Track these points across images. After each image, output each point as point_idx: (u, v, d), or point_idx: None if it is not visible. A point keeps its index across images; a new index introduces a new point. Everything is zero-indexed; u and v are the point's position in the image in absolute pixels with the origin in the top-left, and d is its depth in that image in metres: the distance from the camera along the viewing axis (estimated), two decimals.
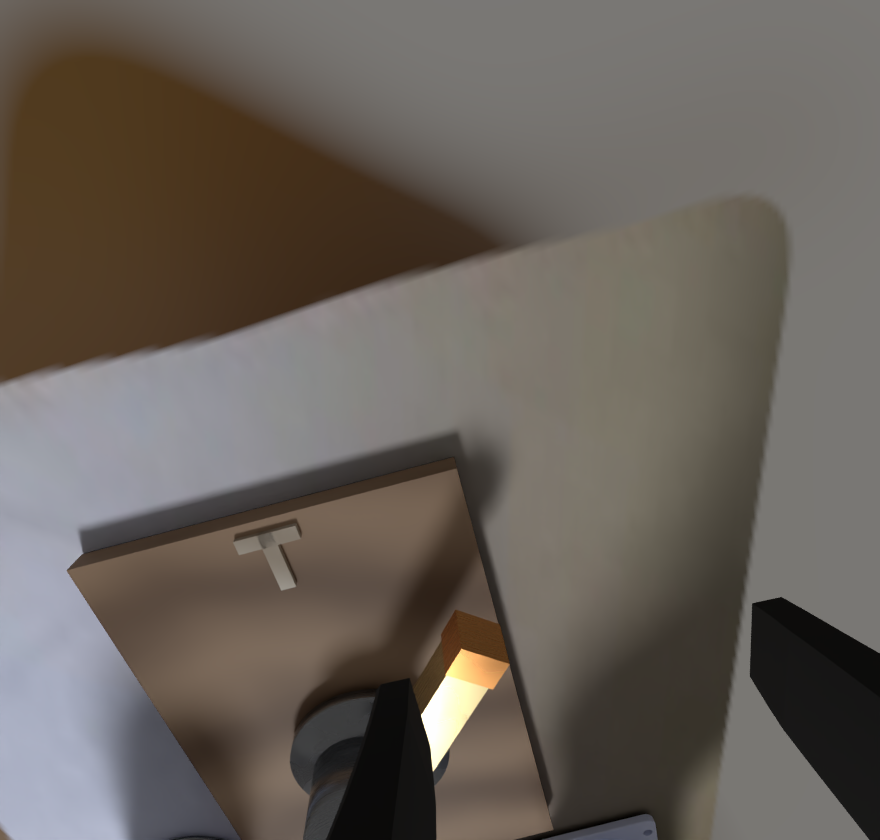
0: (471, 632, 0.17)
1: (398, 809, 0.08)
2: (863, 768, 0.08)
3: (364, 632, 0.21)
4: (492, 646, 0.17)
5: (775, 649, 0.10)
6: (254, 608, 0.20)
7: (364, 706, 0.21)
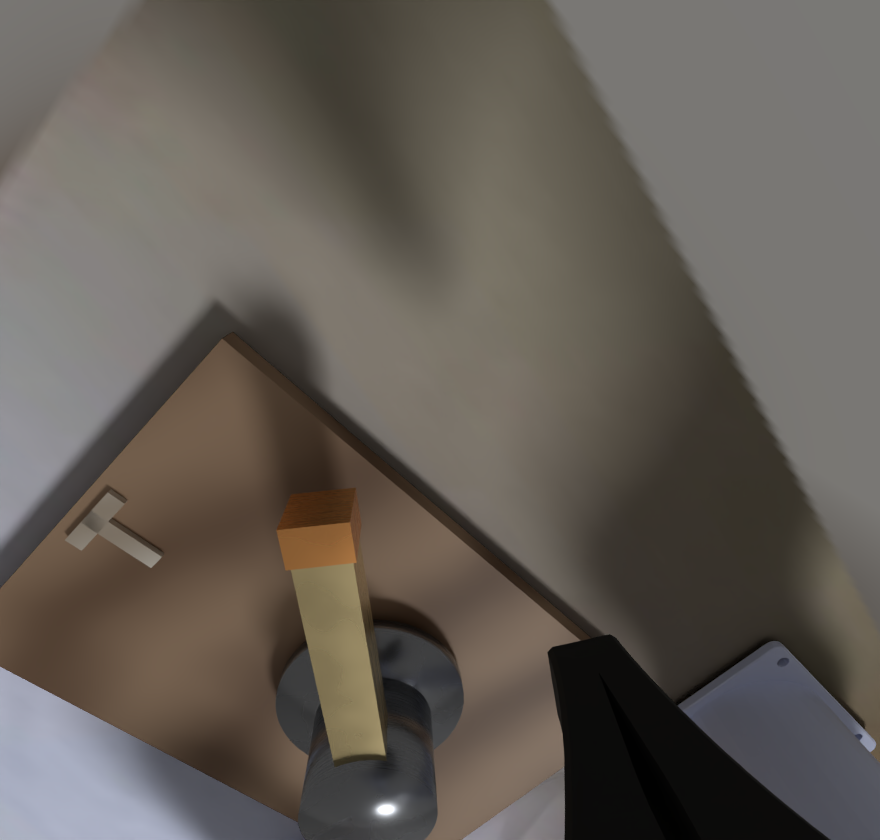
0: (303, 509, 0.13)
1: None
2: None
3: (272, 573, 0.18)
4: (330, 512, 0.13)
5: None
6: (145, 599, 0.18)
7: None
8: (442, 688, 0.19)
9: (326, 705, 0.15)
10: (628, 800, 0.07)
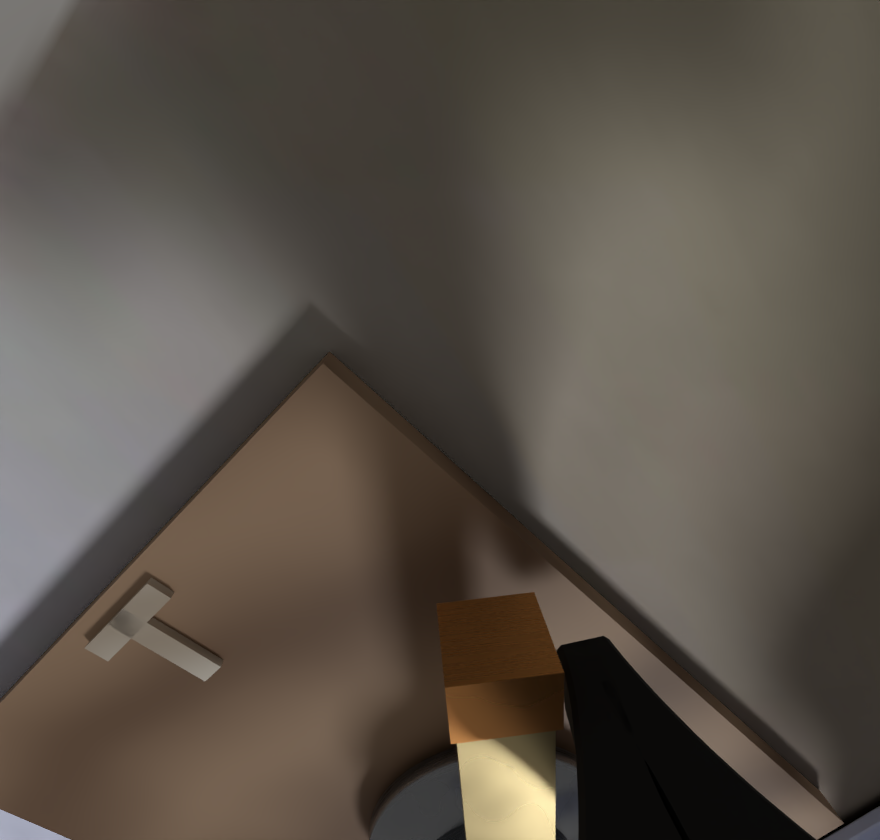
0: (470, 637, 0.08)
1: None
2: None
3: (371, 682, 0.13)
4: (519, 648, 0.08)
5: None
6: (194, 718, 0.13)
7: (432, 787, 0.13)
8: None
9: None
10: (642, 797, 0.07)
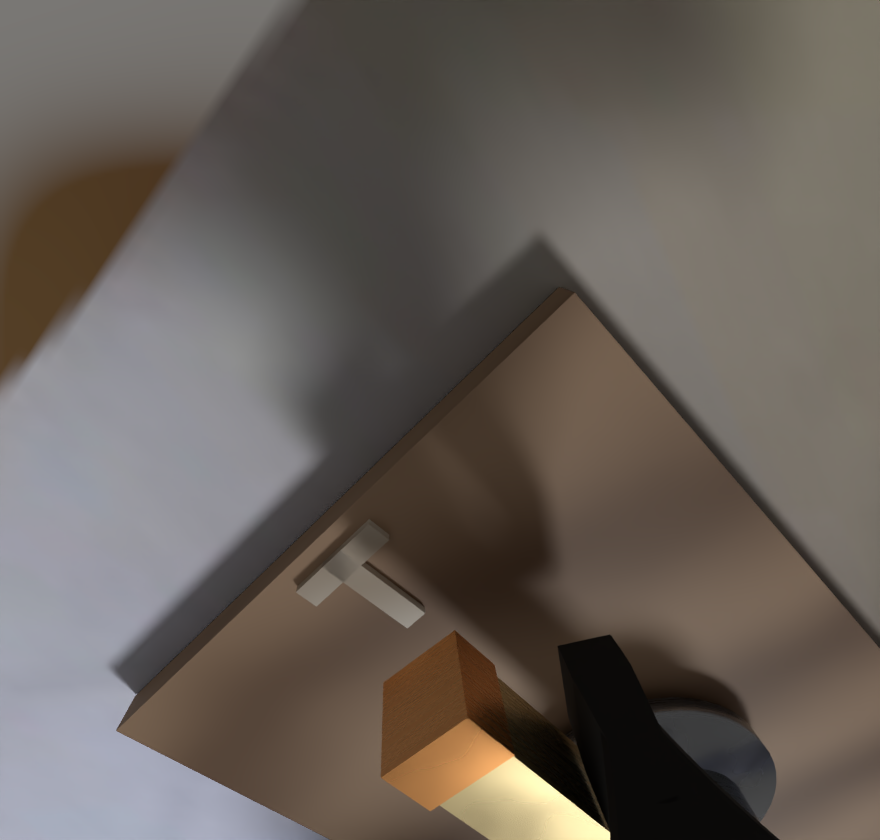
0: (403, 710, 0.09)
1: None
2: None
3: (564, 632, 0.13)
4: (437, 704, 0.08)
5: (571, 693, 0.10)
6: (385, 669, 0.13)
7: None
8: (730, 751, 0.13)
9: None
10: (671, 790, 0.07)
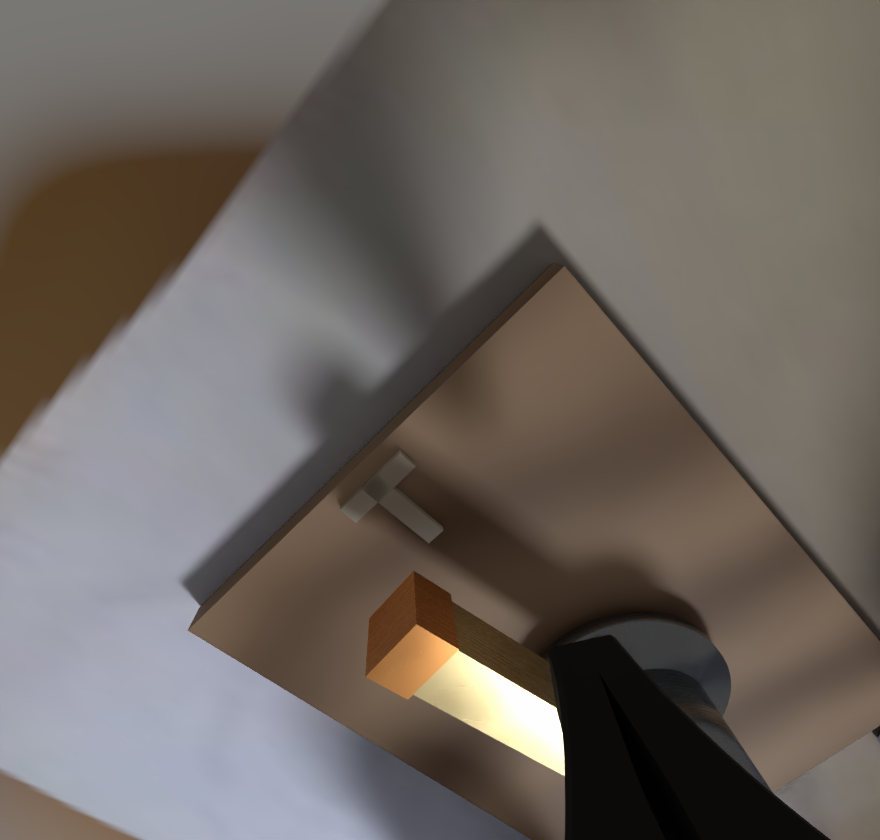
0: (380, 631, 0.12)
1: None
2: None
3: (556, 550, 0.15)
4: (400, 621, 0.11)
5: None
6: None
7: None
8: (681, 651, 0.16)
9: (562, 769, 0.13)
10: (629, 800, 0.07)
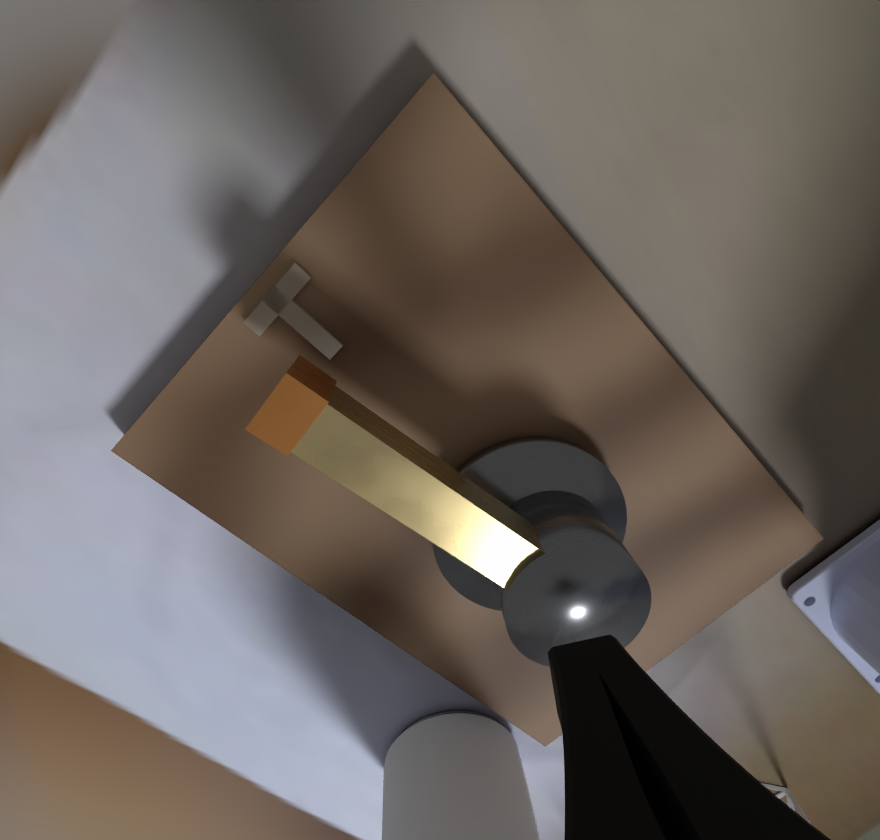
0: None
1: None
2: None
3: (453, 372, 0.16)
4: None
5: None
6: None
7: None
8: (575, 471, 0.17)
9: (443, 543, 0.14)
10: (628, 800, 0.07)
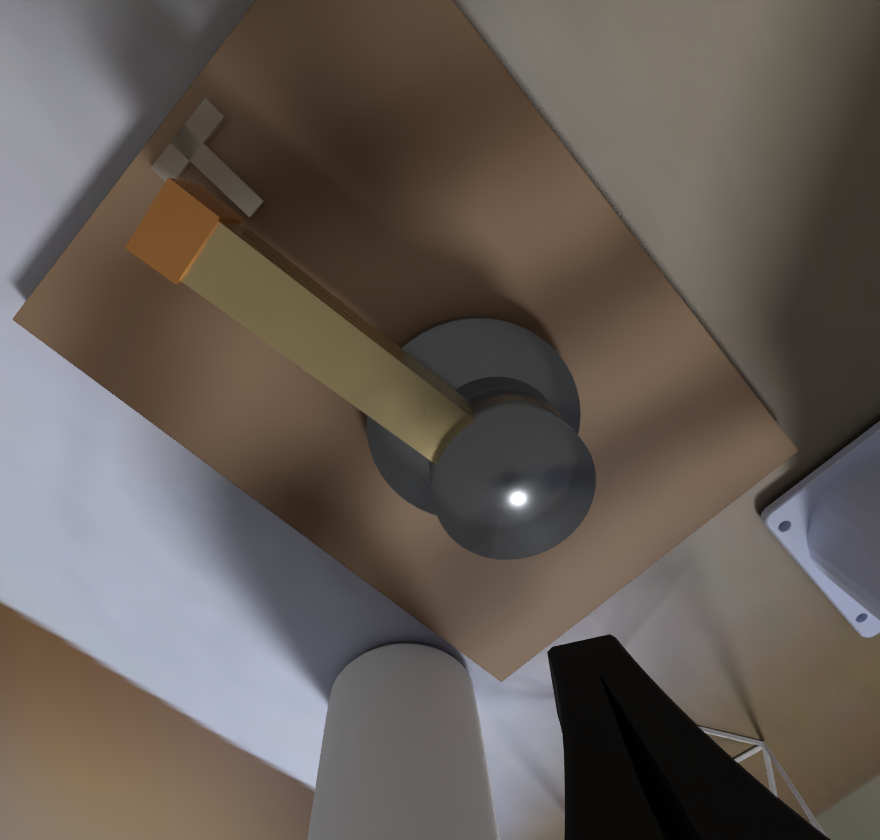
0: None
1: None
2: None
3: (387, 239, 0.15)
4: None
5: None
6: None
7: None
8: (522, 355, 0.16)
9: (360, 402, 0.13)
10: (628, 800, 0.07)
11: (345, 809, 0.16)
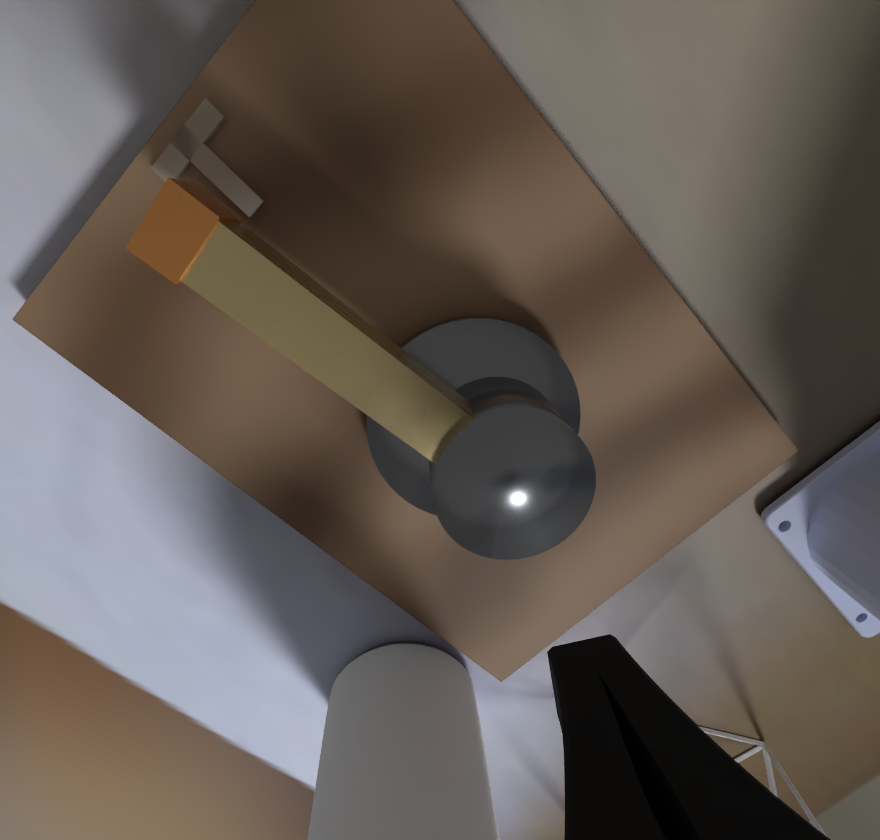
0: None
1: None
2: None
3: (387, 239, 0.15)
4: None
5: None
6: None
7: None
8: (522, 355, 0.16)
9: (360, 402, 0.13)
10: (628, 800, 0.07)
11: (345, 810, 0.16)
